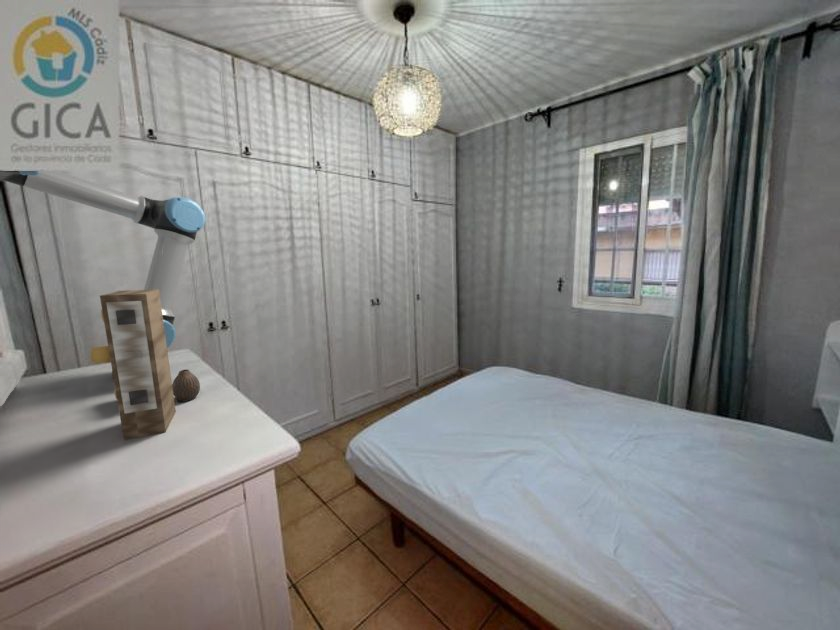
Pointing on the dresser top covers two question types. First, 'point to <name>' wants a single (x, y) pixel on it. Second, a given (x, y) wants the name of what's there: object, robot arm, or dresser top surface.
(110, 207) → the robot arm
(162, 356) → the button column
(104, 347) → the button mid
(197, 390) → the vase
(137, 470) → the dresser top surface
